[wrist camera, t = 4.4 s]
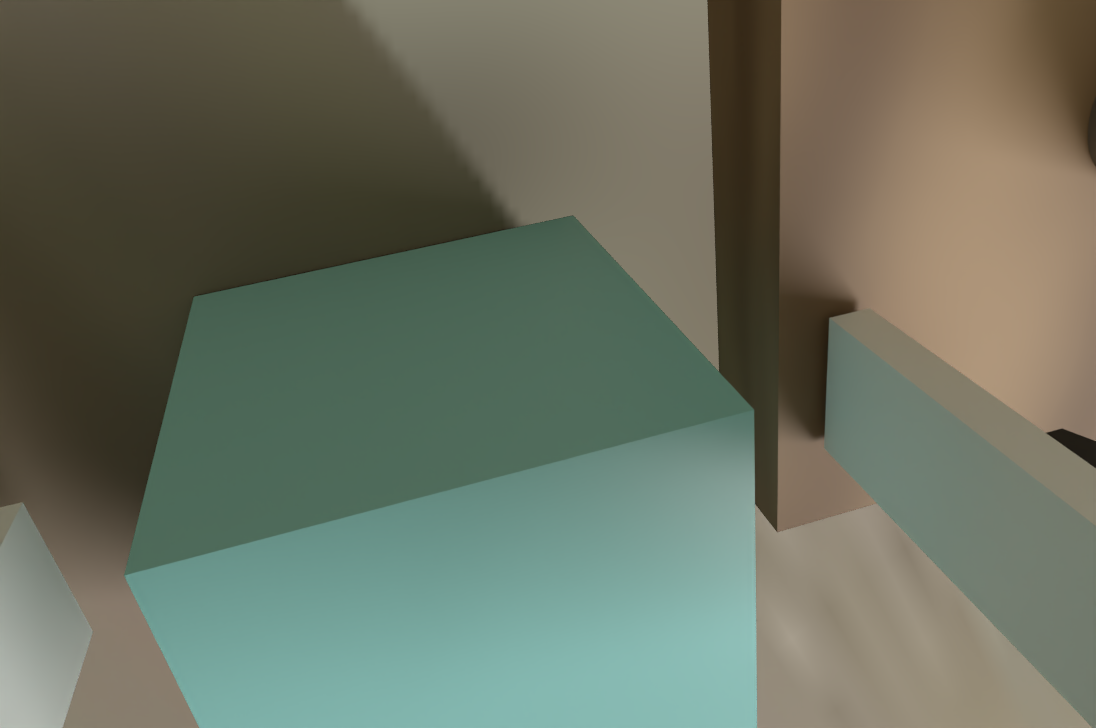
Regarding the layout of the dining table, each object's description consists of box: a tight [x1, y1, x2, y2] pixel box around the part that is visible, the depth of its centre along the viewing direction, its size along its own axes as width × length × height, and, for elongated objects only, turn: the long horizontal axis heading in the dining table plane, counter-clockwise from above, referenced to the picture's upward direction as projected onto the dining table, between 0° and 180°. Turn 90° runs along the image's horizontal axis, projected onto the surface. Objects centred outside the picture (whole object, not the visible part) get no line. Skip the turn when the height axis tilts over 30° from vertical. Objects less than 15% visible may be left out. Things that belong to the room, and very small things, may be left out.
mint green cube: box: [124, 216, 757, 728], centre depth 13 cm, size 7×7×7 cm
